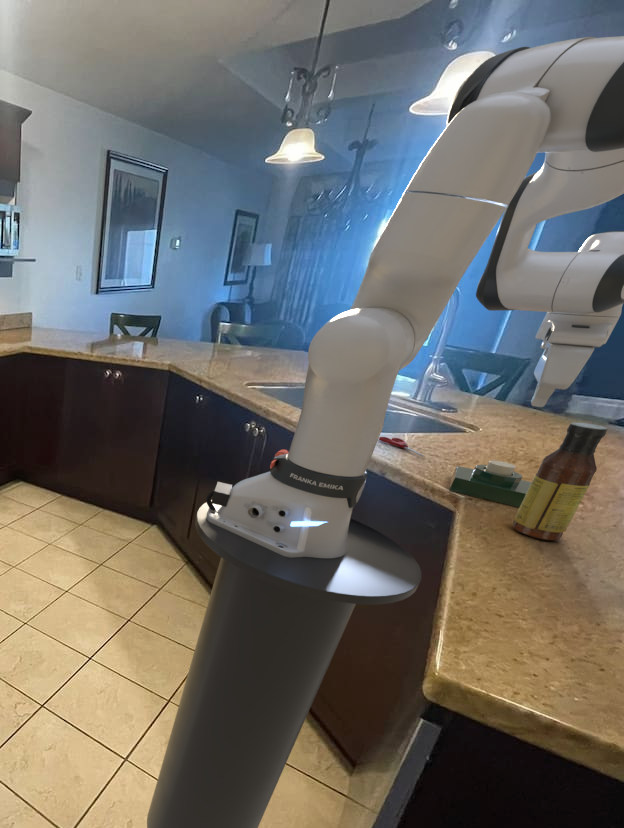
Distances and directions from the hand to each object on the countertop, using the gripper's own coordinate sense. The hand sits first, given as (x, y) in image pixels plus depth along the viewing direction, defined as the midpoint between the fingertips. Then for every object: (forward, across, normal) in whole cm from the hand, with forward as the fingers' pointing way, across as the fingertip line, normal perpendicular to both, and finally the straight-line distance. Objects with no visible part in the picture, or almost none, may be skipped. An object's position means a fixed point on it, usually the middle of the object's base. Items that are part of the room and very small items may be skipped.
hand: (536, 405), depth 94 cm
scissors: (+19, -22, -17) cm, 34 cm away
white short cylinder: (+14, 0, -1) cm, 15 cm away
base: (+19, 0, -1) cm, 19 cm away
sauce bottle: (+19, +18, +5) cm, 27 cm away
